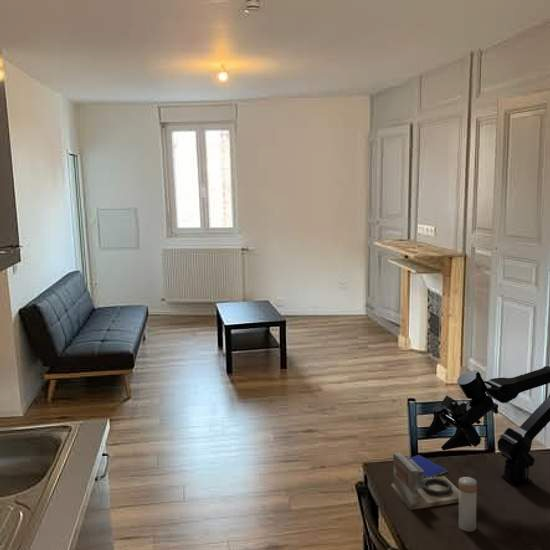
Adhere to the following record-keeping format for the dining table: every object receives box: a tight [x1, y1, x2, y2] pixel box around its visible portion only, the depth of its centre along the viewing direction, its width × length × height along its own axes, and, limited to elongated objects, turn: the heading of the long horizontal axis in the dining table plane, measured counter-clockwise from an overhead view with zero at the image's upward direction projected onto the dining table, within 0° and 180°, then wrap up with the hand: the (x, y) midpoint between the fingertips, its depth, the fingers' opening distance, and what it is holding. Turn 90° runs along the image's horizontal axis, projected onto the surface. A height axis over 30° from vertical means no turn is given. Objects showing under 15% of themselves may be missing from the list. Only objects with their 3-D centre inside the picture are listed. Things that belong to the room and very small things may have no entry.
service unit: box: [391, 452, 459, 511], centre depth 167 cm, size 18×13×11 cm
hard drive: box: [406, 454, 448, 479], centre depth 184 cm, size 2×8×12 cm
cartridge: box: [458, 476, 478, 532], centre depth 150 cm, size 5×5×13 cm
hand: (433, 442), depth 165 cm, fingers open, 9 cm apart
